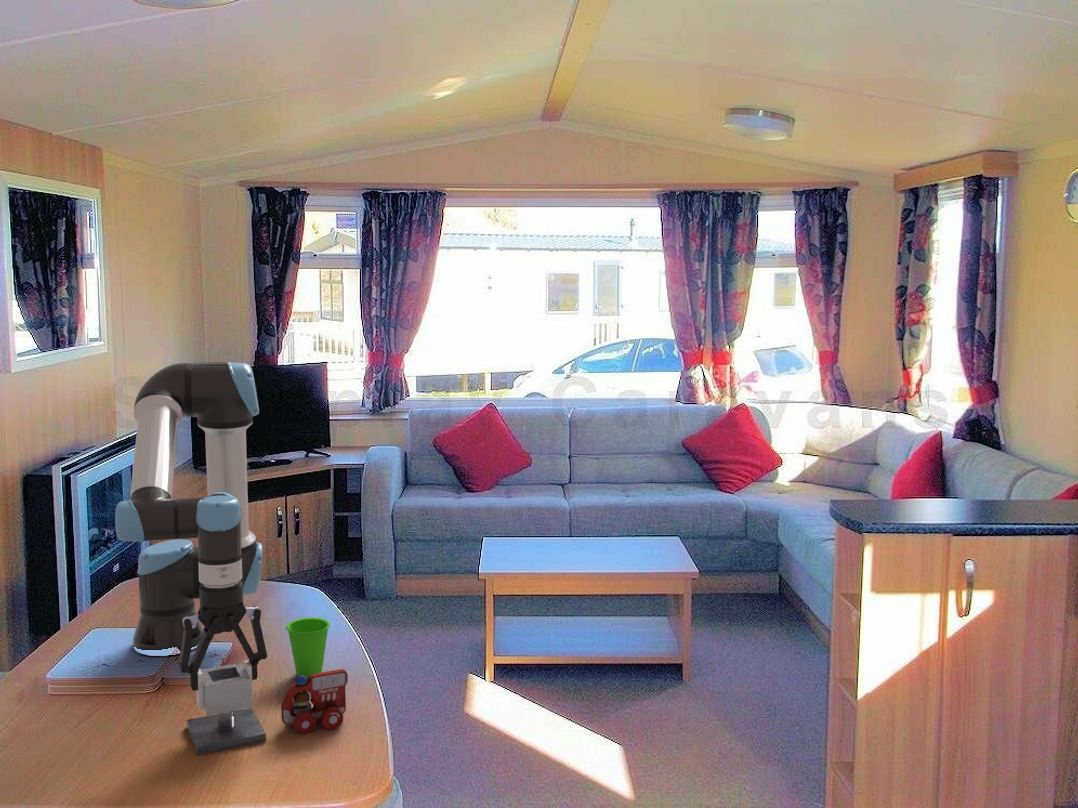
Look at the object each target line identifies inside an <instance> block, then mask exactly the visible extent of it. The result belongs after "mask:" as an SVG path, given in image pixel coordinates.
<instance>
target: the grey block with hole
mask: <svg viewBox="0 0 1078 808" xmlns="http://www.w3.org/2000/svg"><path fill="white" fill-rule="evenodd" d="M200 670H201V672H202V674H203V702H204V708H202V709H203V711H204V713H205V716H210V715H215V714H217V713H222V712H227V711H233V710H241V709H246V708H253V705H252V704H253V703H252V700H253V699H252V696H253V694H252V695H251V677H250V676H249V674H248V673H247V671H246V669H245V666H244V663H242V662H238V663H232V664H226V665H222V666H221V665H220V666H216V667H208V668H203V669H200Z"/></svg>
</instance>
